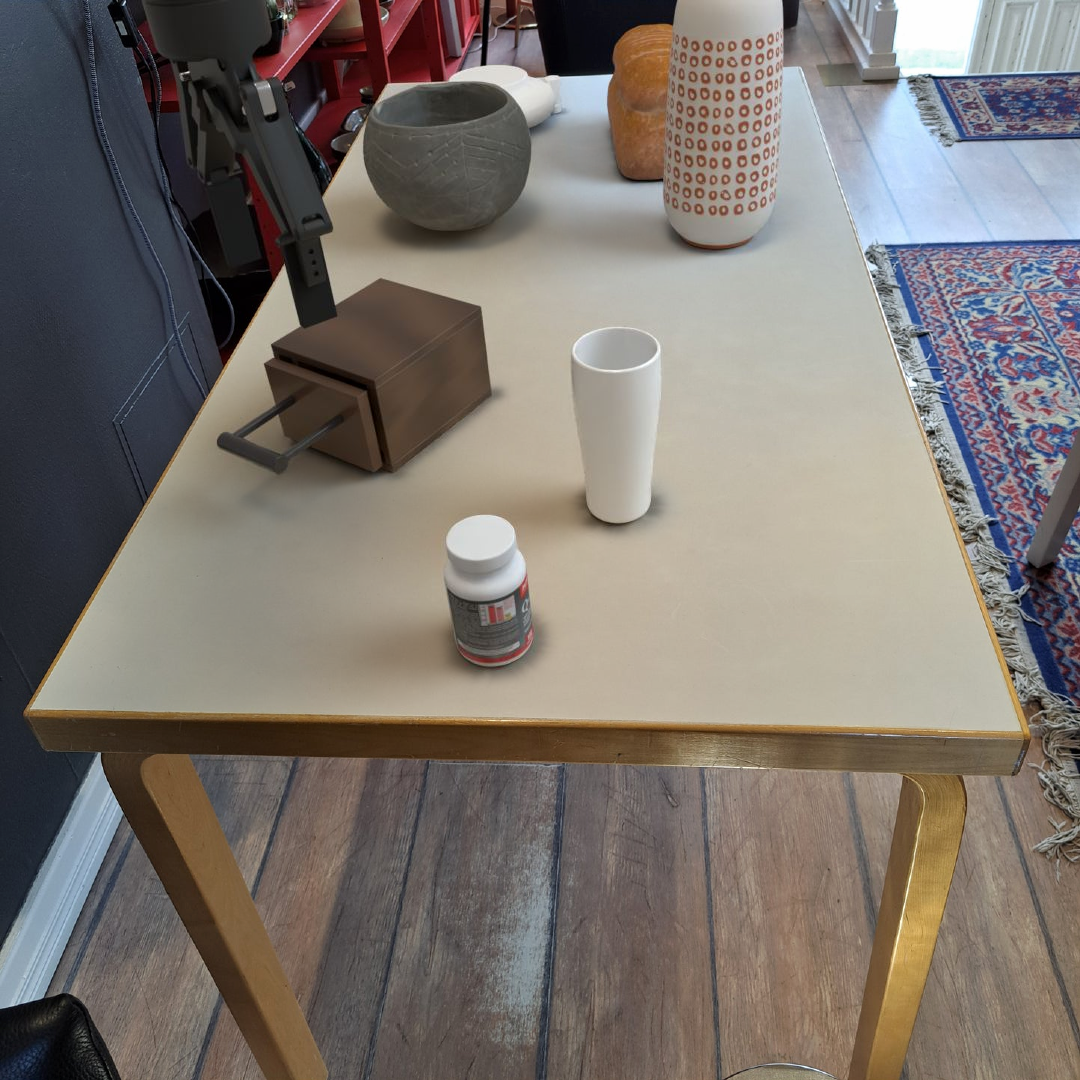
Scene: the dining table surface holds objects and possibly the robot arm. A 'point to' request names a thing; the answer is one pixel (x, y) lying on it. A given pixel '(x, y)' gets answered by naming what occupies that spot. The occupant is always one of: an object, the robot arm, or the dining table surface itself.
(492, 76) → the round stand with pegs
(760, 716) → the dining table surface
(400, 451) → the cabinet
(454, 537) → the pill bottle
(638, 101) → the bread
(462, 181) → the bowl
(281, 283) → the dining table surface
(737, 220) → the white patterned vase
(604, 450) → the drinking glass
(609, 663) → the dining table surface
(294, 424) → the drawer
